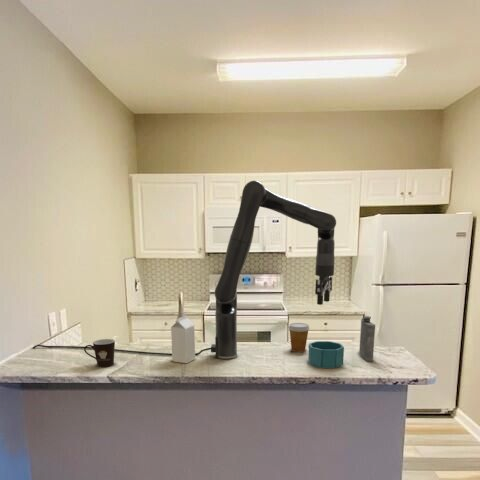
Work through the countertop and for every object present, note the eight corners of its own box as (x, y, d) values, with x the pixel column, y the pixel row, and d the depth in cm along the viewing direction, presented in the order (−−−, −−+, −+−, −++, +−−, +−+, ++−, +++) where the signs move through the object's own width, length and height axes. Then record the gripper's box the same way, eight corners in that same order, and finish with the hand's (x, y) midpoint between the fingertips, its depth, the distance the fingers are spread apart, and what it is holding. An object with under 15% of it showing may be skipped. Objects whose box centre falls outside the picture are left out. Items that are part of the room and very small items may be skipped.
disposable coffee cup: (308, 347, 192) (308, 322, 190) (309, 353, 183) (310, 327, 181) (287, 347, 193) (288, 322, 191) (288, 352, 184) (288, 327, 182)
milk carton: (195, 359, 175) (194, 316, 171) (186, 363, 169) (185, 319, 165) (181, 357, 178) (179, 314, 174) (172, 361, 172) (170, 317, 168)
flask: (364, 361, 171) (367, 320, 167) (356, 351, 185) (359, 313, 181) (373, 361, 171) (376, 320, 167) (364, 351, 185) (367, 313, 181)
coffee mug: (120, 362, 170) (119, 339, 168) (107, 369, 162) (106, 345, 160) (97, 360, 174) (95, 337, 172) (84, 366, 166) (82, 342, 164)
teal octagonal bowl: (311, 368, 163) (312, 350, 161) (306, 357, 176) (307, 341, 175) (345, 368, 163) (346, 350, 161) (338, 358, 176) (338, 341, 174)
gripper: (321, 262, 174) (320, 299, 177) (310, 264, 162) (308, 304, 165) (339, 263, 170) (337, 301, 174) (328, 265, 158) (326, 306, 162)
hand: (323, 302), depth 169 cm, fingers open, 8 cm apart
